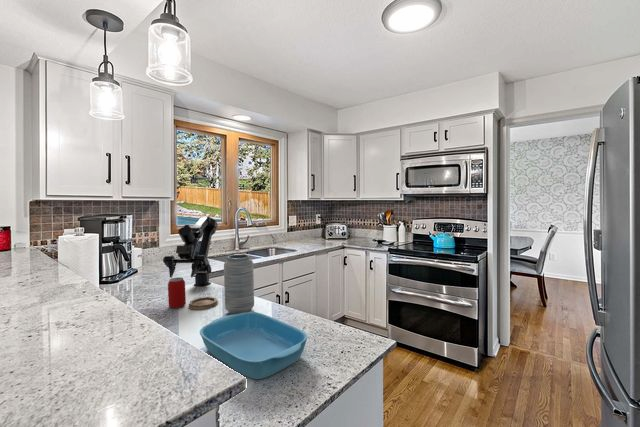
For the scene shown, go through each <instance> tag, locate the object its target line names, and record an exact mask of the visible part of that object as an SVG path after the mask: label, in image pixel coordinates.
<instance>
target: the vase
mask: <svg viewBox="0 0 640 427" xmlns="http://www.w3.org/2000/svg"><path fill="white" fill-rule="evenodd" d="M250 257H251V256H250V255H249V254H242V253H241V254H240V253H239V254H238V253H237V254H231V255H228V256H227V259H226V260H225V262H224V264H223V276H224V277H223V279H224V280H223V281H224V286H223V287H224V308H225V311H227V312H228V313H229V315H234V314H240V313H245V312H252V310H253V308H254V306H255V277H254V275H255V274H254V261H253V259H251V258H250Z"/></svg>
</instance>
